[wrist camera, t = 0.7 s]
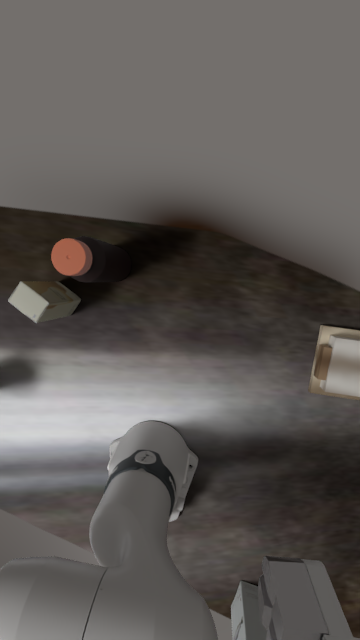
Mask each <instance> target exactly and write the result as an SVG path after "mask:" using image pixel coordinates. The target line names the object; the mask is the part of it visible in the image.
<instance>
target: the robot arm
mask: <svg viewBox="0 0 360 640" xmlns="http://www.w3.org/2000/svg"><path fill="white" fill-rule="evenodd" d="M109 450H110V462H109V464H108V467H107V469H108V470H109V478H108V480H107V483H106V486H105V490H104V495H103V497H102V499H101V501H100V503H99V505H98V507H97V509H96V511H95V513H94V515H93V517H92V520H91V524H90V531H89V536H90V543H91V547H92V549H93V552H94V555H95V557H96V559H97V561H98V563H99V564H100V566H98V565H93V564H89V563H83V562H79V561H74V560H70V559H65V558H60V557H30V558H16V559H13V560H11V561H10V562H8V563H7V564H5V565H4V566H3V567H2V568H1V569H0V640H218V637H217V632H216V627H215V624H214V620H213V617H212V615H211V612H210V610H209V608H208V606H207V604H206V602H205V600H204V599H203V597H202V596H201V595H200V594H199V593H198V592H196V591H195V590H194V589H193V588H192V587H191V586H190V585H189V584H188V583H187V582H186V580H185V579H184V578H183V577H182V575H181V574H180V572H179V571H178V569H177V568H176V566H175V564H174V562H173V560H172V558H171V556H170V553H169V550H168V547H167V529H168V523H169V522H170V521H173V520H176V519H177V518H178V516H179V513H180V511H182V510H183V506H184V502H185V497H186V494H187V492H188V489H189V486H190V484H191V481H192V478H193V476H194V473H195V470H196V467H197V465H198V457H197V456H196V455H195V454H194V453H193V452H192V451H191V450H190V449H189V448H188V447H187V445H186V443H185V441H184V439H183V438H182V436H181V435H180V434H179V433H178V432H177V431H176V430H175V429H174V428H172V427H171V426H169V425H167V424H164V423H161V422H156V421H147V422H142V423H139V424H137V425H135V426H133V427H132V428H131V429H130V430H129V431H128V432H127V433H126V434H125V435H124V436H123V437H121V438H119V439H116V440H114V441H113V442H112V443H111V445H110V447H109ZM189 465H192V467H190V466H189ZM262 569H263V575H262V576H260V577H259V583H258V604H259V612H260V618H261V622H262V624H263V625H264V627H265V628H266V630H267V631H268V632H267V637H266V640H360V638H355V637H353V636H352V633H351V631H350V628H349V626H348V623H347V621H346V618H345V616H344V613H343V611H342V608H341V606H340V603H339V601H338V598H337V596H336V593H335V591H334V588H333V586H332V583H331V581H330V578H329V576H328V573H327V571H326V568H325V566H324V564H323V563H322V562H321V561H318V560H304V559H300V558H288V557H274V556H265V557H264V558H263V562H262Z"/></svg>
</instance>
